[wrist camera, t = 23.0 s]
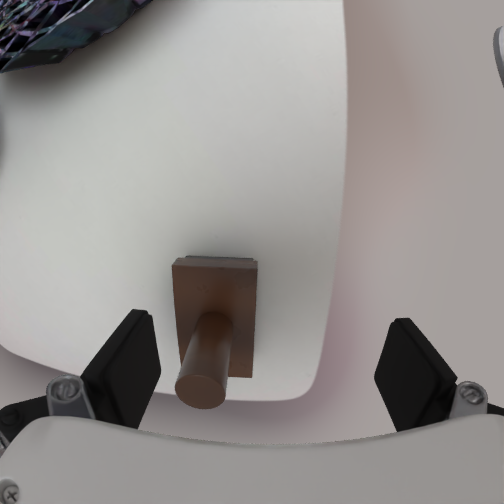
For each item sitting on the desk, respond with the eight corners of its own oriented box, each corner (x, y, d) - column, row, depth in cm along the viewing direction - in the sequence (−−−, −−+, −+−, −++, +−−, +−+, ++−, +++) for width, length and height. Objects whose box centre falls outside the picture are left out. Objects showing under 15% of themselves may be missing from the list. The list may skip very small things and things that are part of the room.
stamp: (182, 251, 21) (133, 312, 11) (256, 254, 21) (259, 321, 11) (189, 350, 23) (162, 435, 14) (252, 354, 23) (251, 444, 14)
